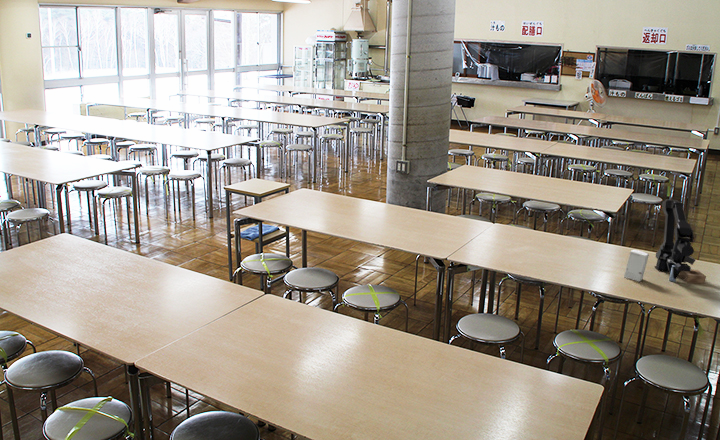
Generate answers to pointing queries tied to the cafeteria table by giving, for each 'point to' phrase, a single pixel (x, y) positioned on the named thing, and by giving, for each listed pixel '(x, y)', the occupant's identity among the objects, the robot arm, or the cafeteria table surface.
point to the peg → (672, 275)
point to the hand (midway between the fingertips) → (673, 277)
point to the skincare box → (636, 265)
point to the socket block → (693, 276)
